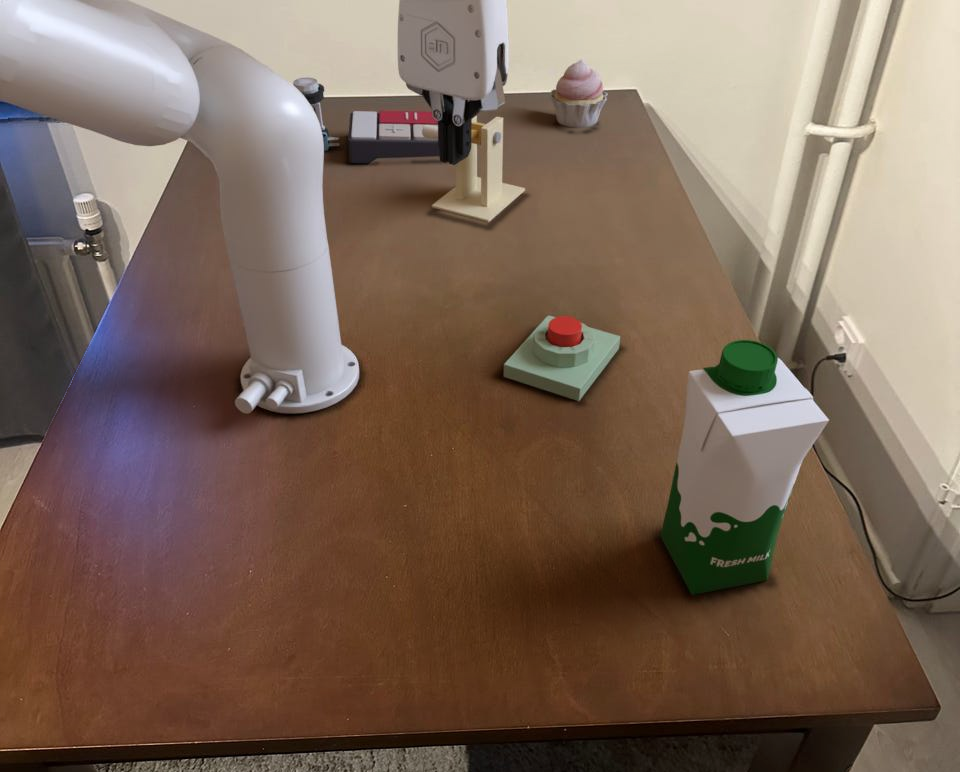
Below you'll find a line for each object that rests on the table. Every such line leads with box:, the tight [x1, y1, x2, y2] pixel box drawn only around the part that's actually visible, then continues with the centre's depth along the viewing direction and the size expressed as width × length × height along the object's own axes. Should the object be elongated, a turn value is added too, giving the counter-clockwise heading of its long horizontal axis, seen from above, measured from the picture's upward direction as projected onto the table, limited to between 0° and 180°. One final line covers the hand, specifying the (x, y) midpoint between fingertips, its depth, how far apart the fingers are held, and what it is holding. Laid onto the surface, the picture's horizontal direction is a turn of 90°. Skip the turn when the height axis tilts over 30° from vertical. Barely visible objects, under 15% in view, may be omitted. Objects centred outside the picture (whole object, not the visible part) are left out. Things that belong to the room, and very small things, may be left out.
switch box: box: [503, 315, 621, 402], centre depth 97 cm, size 11×9×4 cm
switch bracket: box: [431, 114, 526, 223], centre depth 122 cm, size 11×9×12 cm
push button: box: [292, 76, 340, 152], centre depth 136 cm, size 7×5×10 cm
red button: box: [548, 315, 582, 347], centre depth 96 cm, size 4×4×2 cm
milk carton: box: [660, 339, 830, 596], centre depth 71 cm, size 9×9×20 cm
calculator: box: [347, 110, 440, 164], centre depth 138 cm, size 11×4×15 cm
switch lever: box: [422, 121, 487, 146], centre depth 115 cm, size 12×5×2 cm, turn 151°
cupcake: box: [549, 59, 608, 129], centre depth 142 cm, size 9×9×10 cm
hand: (454, 158), depth 91 cm, fingers closed
